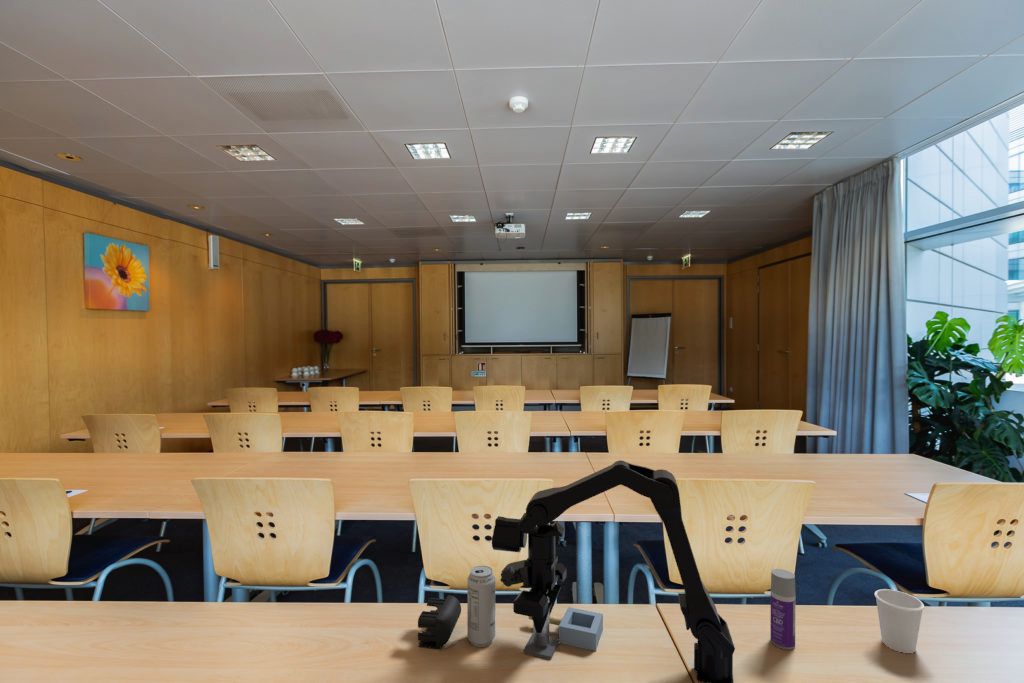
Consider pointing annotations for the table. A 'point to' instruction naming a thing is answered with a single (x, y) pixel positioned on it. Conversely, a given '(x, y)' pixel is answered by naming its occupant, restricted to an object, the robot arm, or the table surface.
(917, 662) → the table surface
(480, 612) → the energy drink can
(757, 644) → the table surface
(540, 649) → the mat
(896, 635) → the dixie cup
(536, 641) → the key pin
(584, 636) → the blue-grey block with rod
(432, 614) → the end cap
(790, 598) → the container
